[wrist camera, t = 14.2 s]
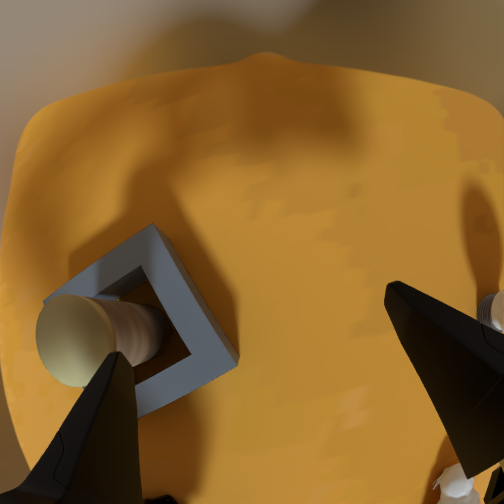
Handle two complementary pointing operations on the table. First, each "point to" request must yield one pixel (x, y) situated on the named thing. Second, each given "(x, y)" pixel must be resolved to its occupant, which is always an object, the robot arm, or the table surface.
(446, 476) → the light grey piece
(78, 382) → the walnut pin
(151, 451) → the table surface
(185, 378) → the socket block
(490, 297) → the light bulb
